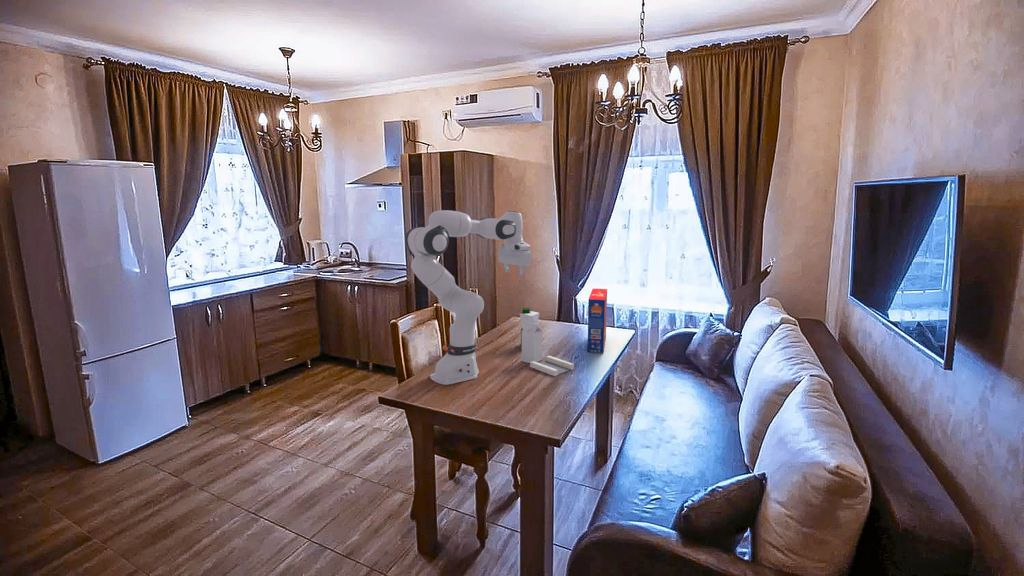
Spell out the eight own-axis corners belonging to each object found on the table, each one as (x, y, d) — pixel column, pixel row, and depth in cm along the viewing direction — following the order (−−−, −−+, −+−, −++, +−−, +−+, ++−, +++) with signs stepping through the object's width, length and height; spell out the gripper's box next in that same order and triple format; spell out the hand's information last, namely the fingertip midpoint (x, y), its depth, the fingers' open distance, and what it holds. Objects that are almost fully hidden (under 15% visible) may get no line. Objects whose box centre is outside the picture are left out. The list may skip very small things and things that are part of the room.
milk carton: (529, 357, 240) (529, 320, 236) (541, 360, 236) (541, 322, 232) (521, 361, 234) (521, 323, 230) (533, 364, 230) (533, 326, 226)
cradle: (554, 376, 215) (554, 370, 215) (530, 366, 227) (530, 361, 226) (574, 368, 224) (574, 363, 223) (549, 360, 235) (549, 355, 235)
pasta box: (603, 353, 244) (604, 299, 239) (587, 352, 246) (588, 299, 241) (605, 337, 271) (607, 289, 266) (591, 336, 273) (592, 288, 268)
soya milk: (527, 341, 265) (527, 306, 261) (541, 344, 259) (541, 308, 255) (518, 346, 258) (517, 309, 254) (532, 349, 253) (531, 312, 249)
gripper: (494, 244, 235) (495, 271, 238) (523, 247, 220) (523, 276, 223) (504, 243, 239) (504, 270, 242) (533, 246, 224) (533, 275, 227)
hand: (514, 273), depth 232 cm, fingers open, 8 cm apart
